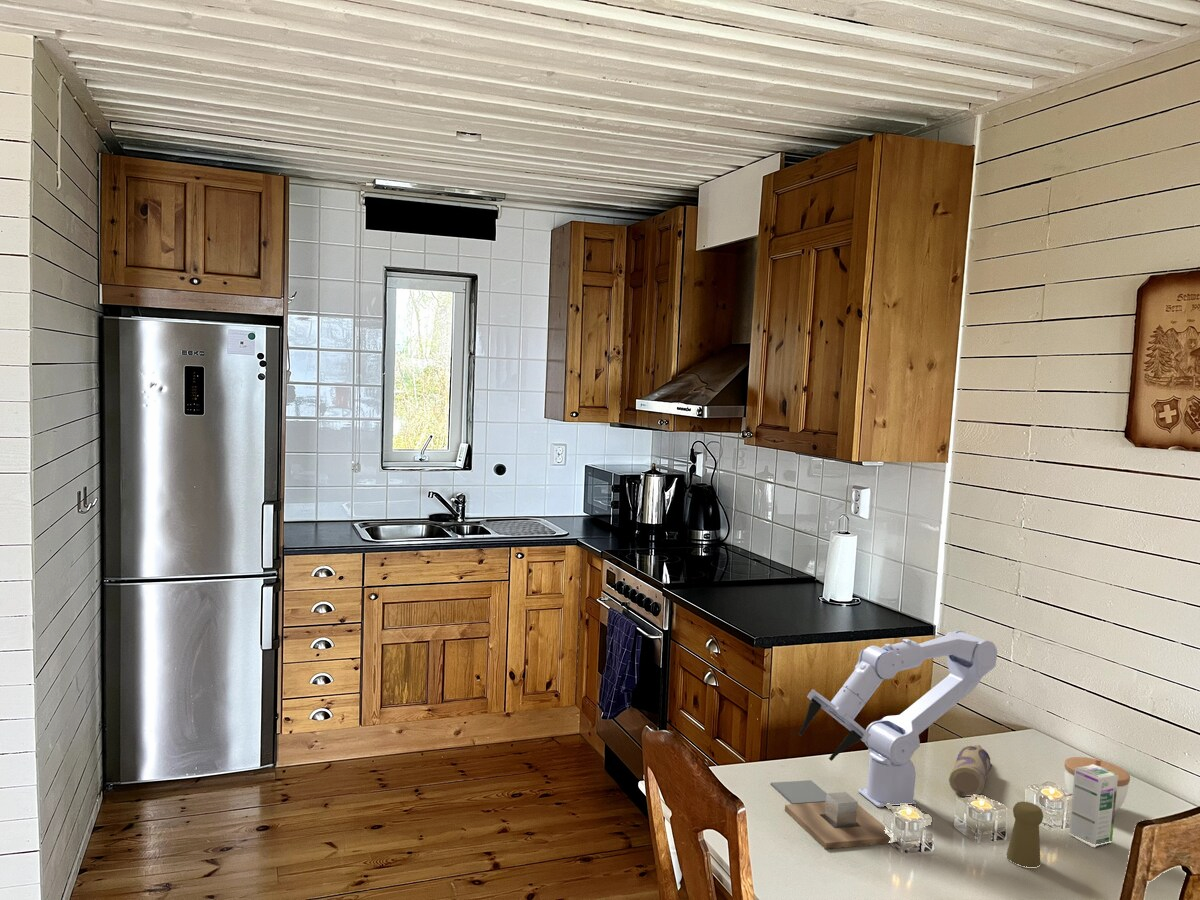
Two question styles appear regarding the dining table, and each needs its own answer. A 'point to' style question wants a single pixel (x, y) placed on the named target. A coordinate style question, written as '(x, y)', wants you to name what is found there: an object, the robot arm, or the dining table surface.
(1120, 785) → the lidded bowl
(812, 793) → the gray square plate
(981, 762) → the decorative bottle
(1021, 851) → the olive pawn figure
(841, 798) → the steel plug
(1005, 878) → the dining table surface
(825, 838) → the walnut hole plate
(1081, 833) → the syrup box
